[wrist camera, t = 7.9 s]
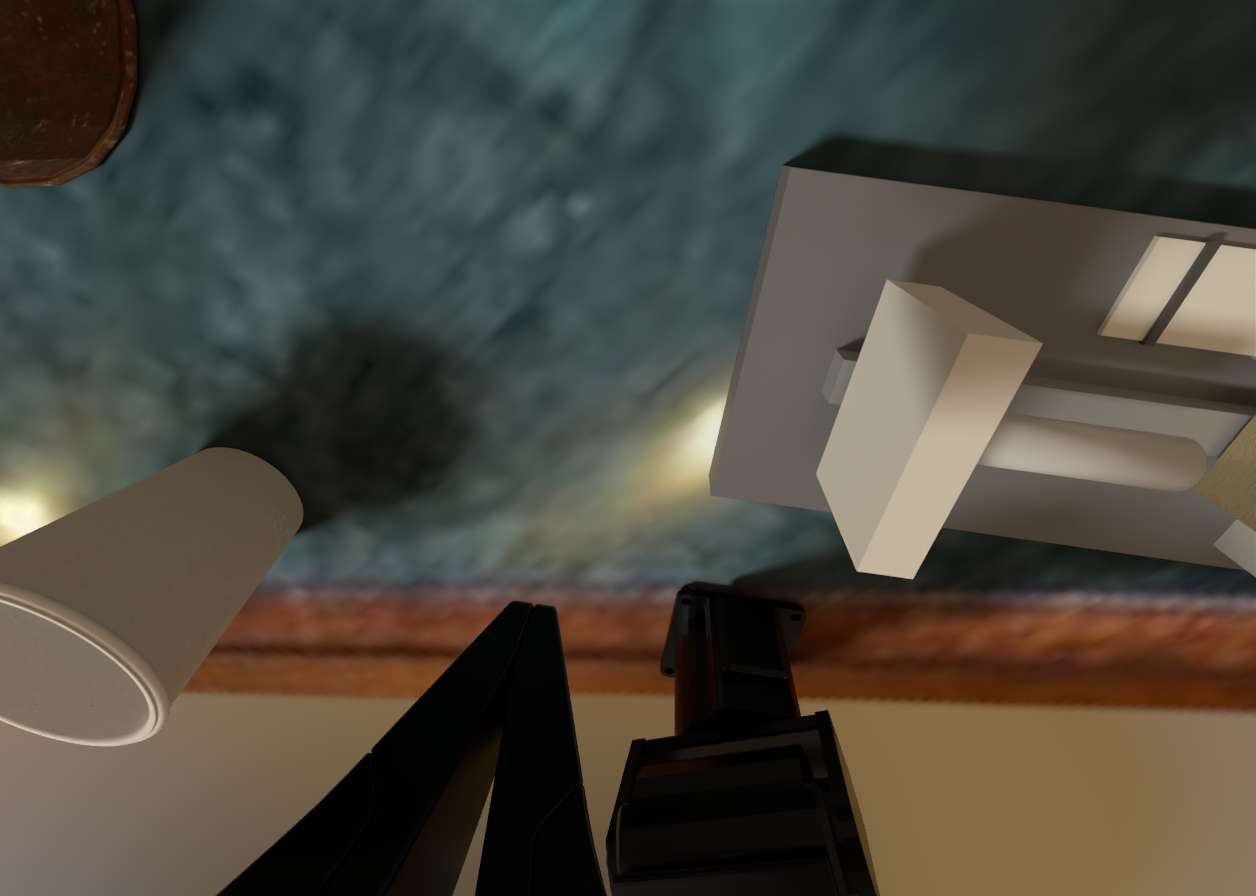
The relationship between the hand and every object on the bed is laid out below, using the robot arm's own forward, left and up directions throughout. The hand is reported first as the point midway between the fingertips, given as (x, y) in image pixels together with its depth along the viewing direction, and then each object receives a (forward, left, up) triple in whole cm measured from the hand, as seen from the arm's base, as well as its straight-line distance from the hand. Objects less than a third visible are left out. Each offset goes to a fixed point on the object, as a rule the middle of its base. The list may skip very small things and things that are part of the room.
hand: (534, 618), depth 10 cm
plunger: (+2, -12, -10) cm, 16 cm away
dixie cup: (-9, +17, -13) cm, 23 cm away
